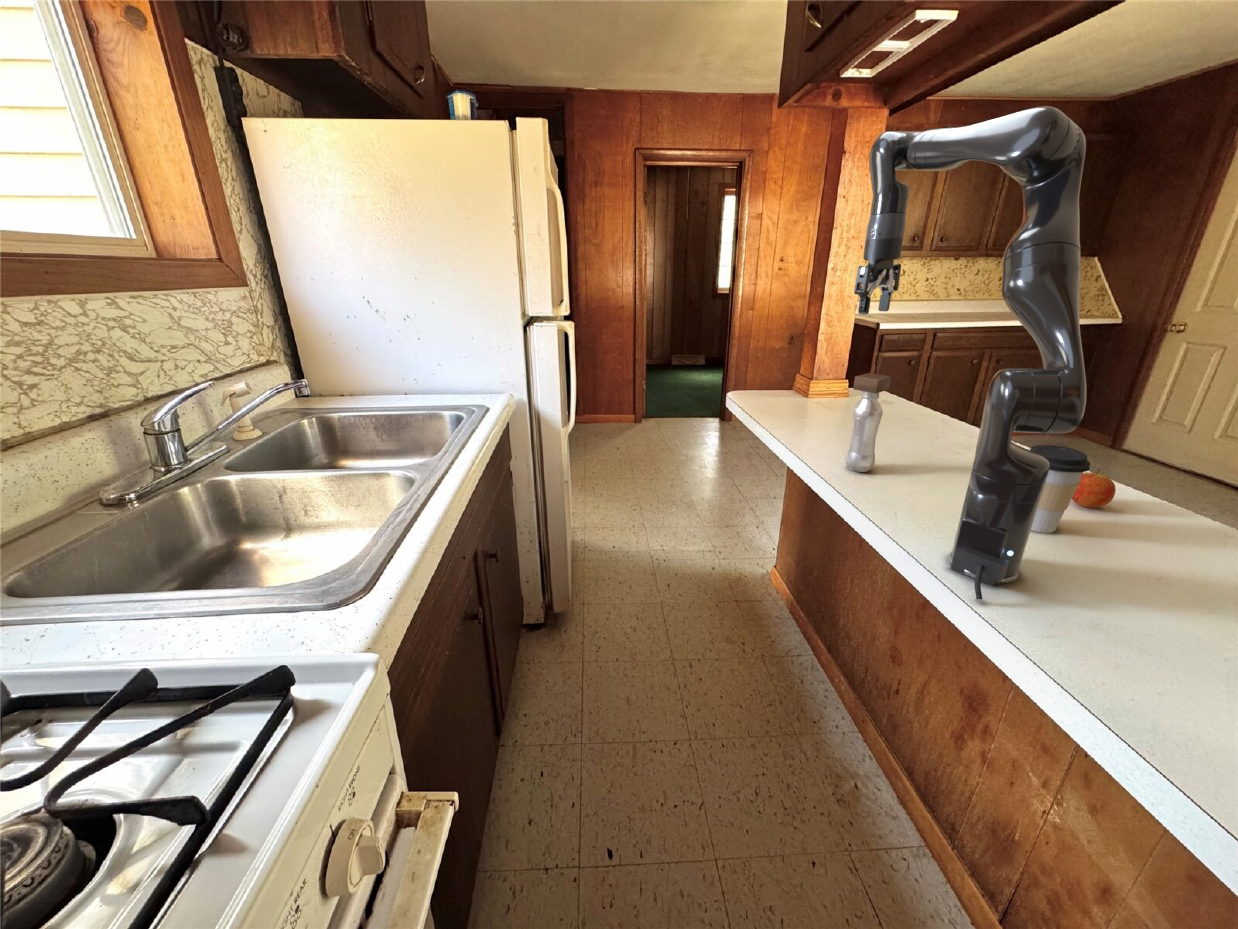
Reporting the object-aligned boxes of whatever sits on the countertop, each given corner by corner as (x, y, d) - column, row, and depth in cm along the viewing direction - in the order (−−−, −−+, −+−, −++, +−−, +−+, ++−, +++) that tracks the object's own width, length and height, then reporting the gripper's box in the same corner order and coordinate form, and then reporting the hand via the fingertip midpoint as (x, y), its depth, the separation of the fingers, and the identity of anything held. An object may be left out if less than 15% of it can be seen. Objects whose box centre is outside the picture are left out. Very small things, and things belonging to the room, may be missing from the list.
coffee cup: (1050, 515, 100) (1073, 444, 95) (1079, 540, 92) (1106, 462, 86) (996, 512, 102) (1015, 442, 96) (1020, 536, 94) (1042, 460, 88)
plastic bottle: (844, 473, 123) (856, 392, 115) (844, 463, 128) (855, 385, 121) (874, 476, 120) (887, 393, 113) (872, 466, 126) (885, 386, 119)
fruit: (1095, 516, 99) (1108, 478, 96) (1055, 502, 105) (1067, 466, 102) (1116, 509, 102) (1130, 472, 99) (1076, 495, 108) (1088, 460, 105)
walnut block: (875, 393, 113) (878, 380, 112) (853, 389, 118) (854, 376, 116) (889, 389, 116) (891, 376, 115) (866, 385, 120) (868, 372, 119)
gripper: (883, 236, 106) (871, 316, 113) (918, 235, 114) (905, 310, 120) (850, 238, 112) (841, 314, 118) (885, 237, 120) (874, 309, 126)
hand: (873, 312), depth 119 cm, fingers open, 8 cm apart
